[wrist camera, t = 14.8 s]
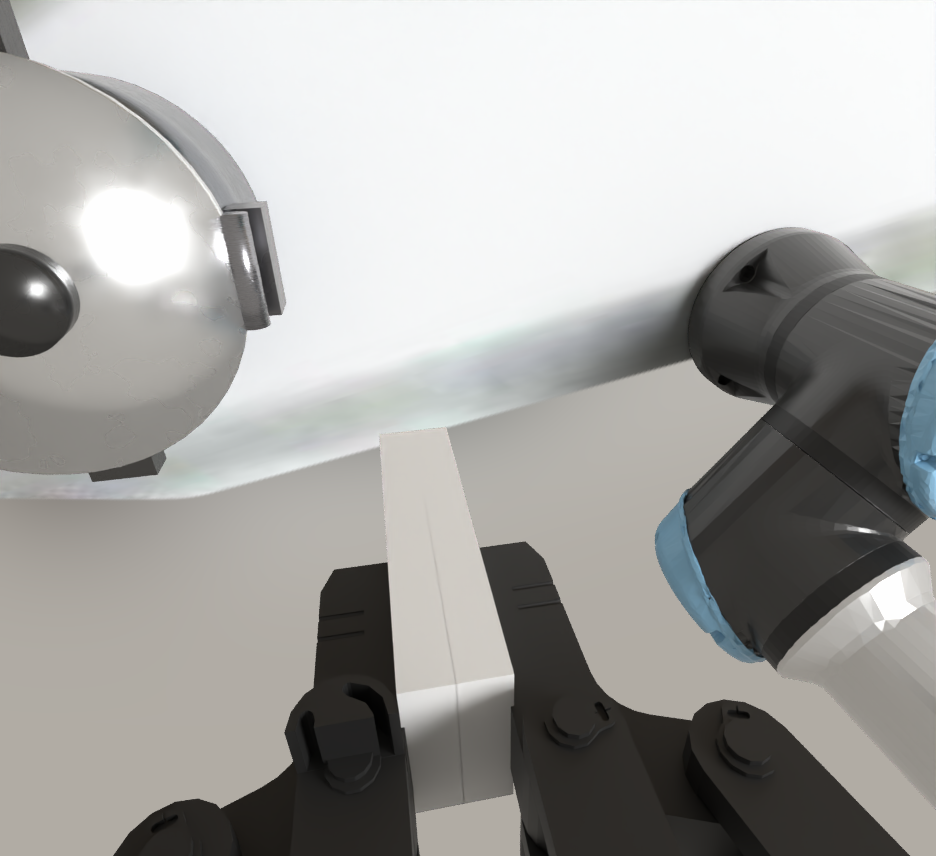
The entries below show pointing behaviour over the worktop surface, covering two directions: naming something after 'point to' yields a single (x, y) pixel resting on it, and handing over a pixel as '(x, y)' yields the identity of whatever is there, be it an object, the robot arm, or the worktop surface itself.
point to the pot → (208, 164)
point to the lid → (109, 281)
